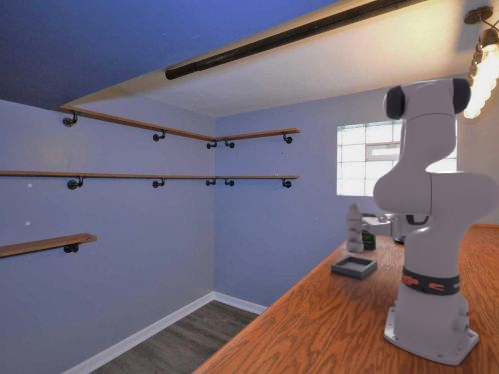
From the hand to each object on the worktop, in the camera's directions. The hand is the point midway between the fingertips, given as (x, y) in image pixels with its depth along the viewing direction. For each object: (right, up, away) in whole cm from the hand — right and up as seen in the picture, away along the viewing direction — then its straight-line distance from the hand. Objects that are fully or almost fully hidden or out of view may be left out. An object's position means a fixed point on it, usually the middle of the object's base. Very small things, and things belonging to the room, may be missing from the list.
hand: (352, 224), depth 103 cm
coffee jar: (+21, -17, +32) cm, 42 cm away
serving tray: (+1, -19, +1) cm, 19 cm away
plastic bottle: (+1, -12, 0) cm, 12 cm away
